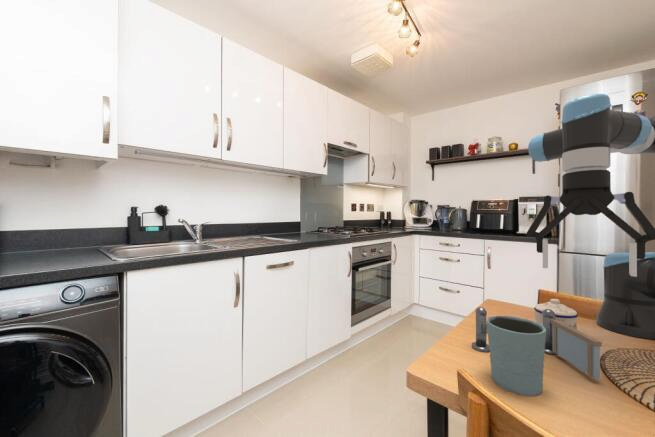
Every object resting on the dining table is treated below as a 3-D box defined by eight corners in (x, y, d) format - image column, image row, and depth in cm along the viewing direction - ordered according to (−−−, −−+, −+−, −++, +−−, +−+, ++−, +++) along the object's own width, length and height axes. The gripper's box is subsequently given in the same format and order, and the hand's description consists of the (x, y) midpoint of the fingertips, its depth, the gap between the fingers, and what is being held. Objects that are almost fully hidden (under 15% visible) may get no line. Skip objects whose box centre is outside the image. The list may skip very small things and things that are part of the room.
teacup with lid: (571, 354, 68) (571, 306, 68) (528, 340, 76) (528, 298, 76) (586, 342, 75) (586, 298, 75) (545, 330, 83) (545, 291, 83)
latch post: (489, 344, 74) (489, 304, 74) (497, 352, 69) (497, 310, 69) (468, 343, 74) (468, 304, 74) (475, 351, 70) (475, 309, 70)
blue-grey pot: (519, 402, 51) (519, 336, 51) (475, 372, 60) (475, 317, 60) (559, 392, 53) (559, 330, 53) (511, 365, 63) (511, 312, 63)
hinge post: (552, 347, 72) (551, 306, 72) (564, 355, 68) (564, 312, 68) (533, 346, 73) (533, 306, 73) (545, 354, 68) (545, 311, 68)
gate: (551, 350, 68) (551, 319, 68) (557, 350, 68) (557, 319, 68) (594, 379, 56) (594, 341, 56) (602, 379, 56) (601, 342, 56)
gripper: (673, 166, 54) (673, 276, 54) (518, 179, 70) (518, 262, 70) (683, 160, 48) (684, 283, 48) (512, 175, 65) (513, 266, 65)
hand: (585, 271), depth 59 cm, fingers open, 13 cm apart
